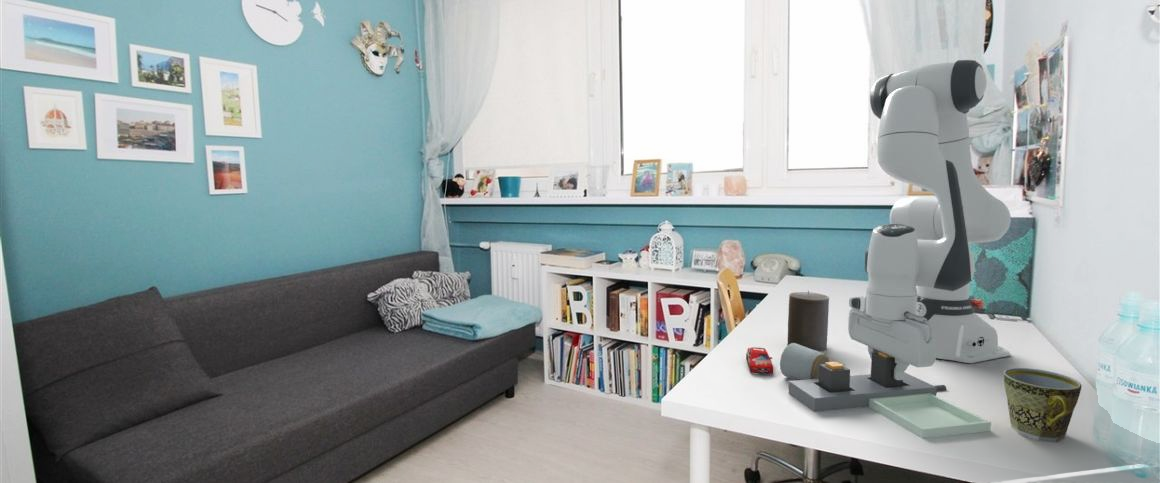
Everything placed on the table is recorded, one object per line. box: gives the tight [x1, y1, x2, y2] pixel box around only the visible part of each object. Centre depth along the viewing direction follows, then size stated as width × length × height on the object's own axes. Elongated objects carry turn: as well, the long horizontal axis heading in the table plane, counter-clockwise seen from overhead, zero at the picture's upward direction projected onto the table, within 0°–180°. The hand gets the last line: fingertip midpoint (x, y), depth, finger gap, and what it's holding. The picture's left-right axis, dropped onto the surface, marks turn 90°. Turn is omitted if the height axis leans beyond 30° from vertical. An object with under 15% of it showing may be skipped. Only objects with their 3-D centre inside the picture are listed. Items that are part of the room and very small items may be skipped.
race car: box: [745, 346, 774, 375], centre depth 128 cm, size 13×5×4 cm, turn 167°
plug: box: [870, 351, 903, 388], centre depth 109 cm, size 4×4×7 cm
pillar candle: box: [786, 290, 830, 353], centre depth 141 cm, size 10×10×15 cm
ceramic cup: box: [1003, 367, 1083, 443], centre depth 90 cm, size 13×10×10 cm
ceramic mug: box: [779, 343, 831, 381], centre depth 119 cm, size 11×8×8 cm
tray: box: [868, 393, 992, 439], centre depth 98 cm, size 13×13×2 cm
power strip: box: [788, 361, 947, 413], centre depth 109 cm, size 32×9×8 cm, turn 99°
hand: (887, 374), depth 109 cm, fingers closed on plug, 4 cm apart
